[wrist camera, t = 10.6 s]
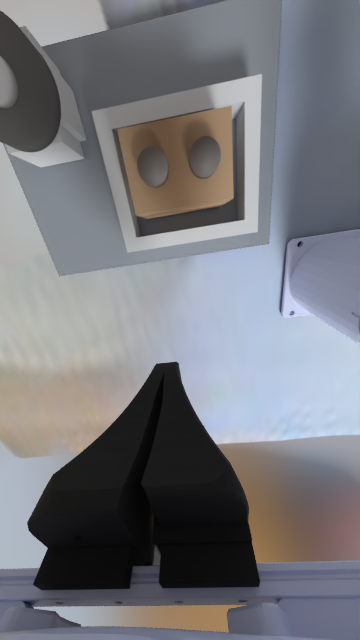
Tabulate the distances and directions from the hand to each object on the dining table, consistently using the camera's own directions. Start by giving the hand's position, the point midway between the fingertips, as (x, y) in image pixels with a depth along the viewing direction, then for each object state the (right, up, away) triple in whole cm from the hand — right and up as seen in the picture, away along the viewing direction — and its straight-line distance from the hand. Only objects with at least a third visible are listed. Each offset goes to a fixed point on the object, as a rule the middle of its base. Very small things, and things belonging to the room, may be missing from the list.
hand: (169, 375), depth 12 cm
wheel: (-9, +18, +2) cm, 20 cm away
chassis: (-2, +16, +4) cm, 16 cm away
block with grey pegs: (+1, +14, +3) cm, 15 cm away
